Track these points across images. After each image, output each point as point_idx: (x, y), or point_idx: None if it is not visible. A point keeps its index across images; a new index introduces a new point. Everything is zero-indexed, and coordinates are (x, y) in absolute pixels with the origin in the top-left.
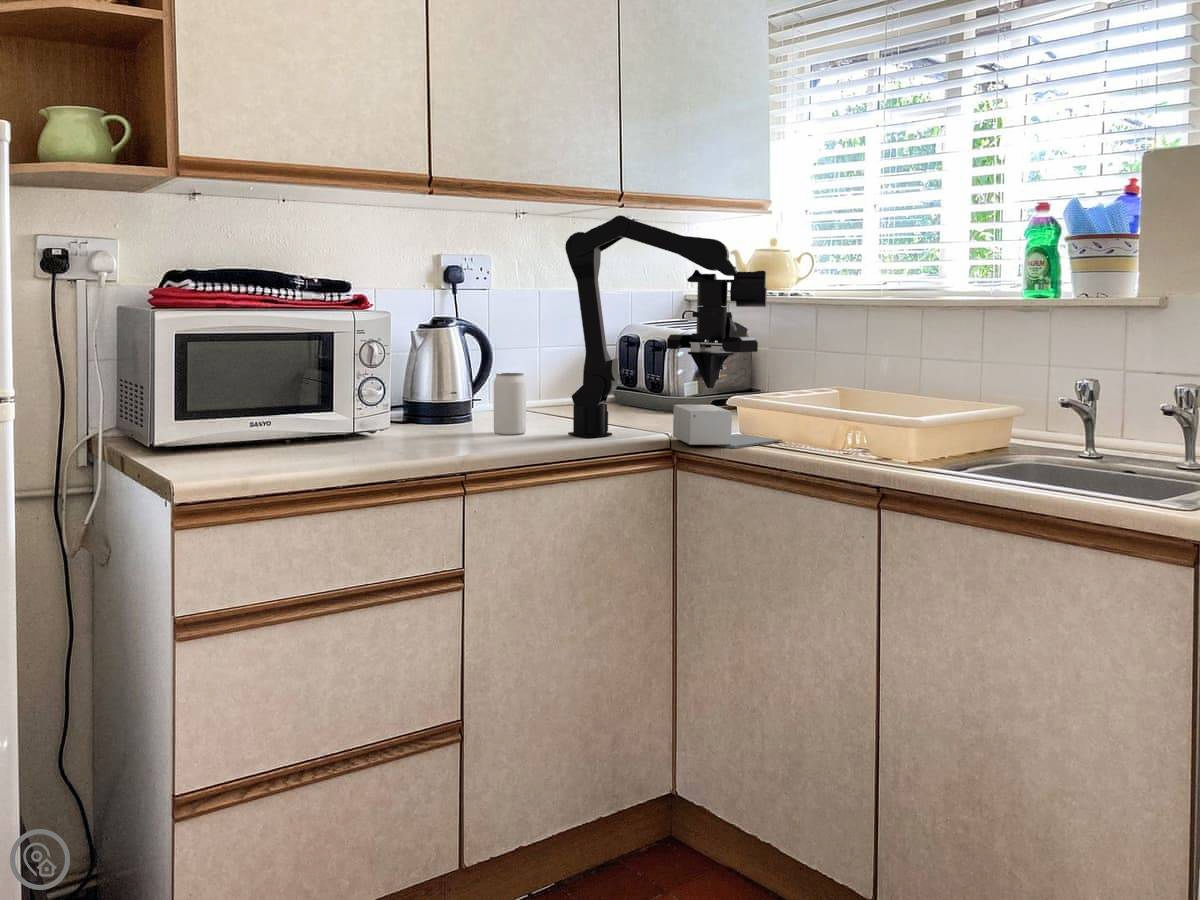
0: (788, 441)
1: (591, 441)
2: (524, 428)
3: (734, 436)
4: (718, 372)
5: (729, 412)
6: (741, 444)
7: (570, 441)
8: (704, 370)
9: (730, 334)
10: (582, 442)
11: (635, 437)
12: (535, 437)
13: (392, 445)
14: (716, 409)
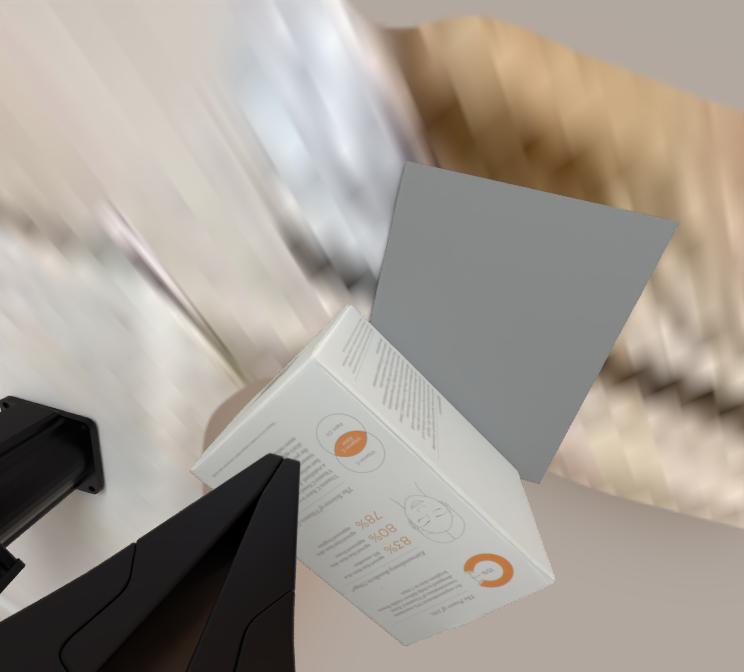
0: (697, 164)
1: (146, 520)
2: None
3: (431, 256)
4: (292, 585)
5: (543, 584)
6: (549, 447)
7: (118, 538)
8: (189, 661)
9: None
10: None
11: (154, 407)
12: None
13: None
14: (458, 555)
